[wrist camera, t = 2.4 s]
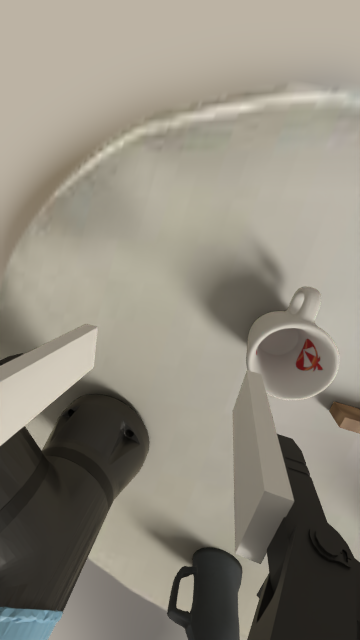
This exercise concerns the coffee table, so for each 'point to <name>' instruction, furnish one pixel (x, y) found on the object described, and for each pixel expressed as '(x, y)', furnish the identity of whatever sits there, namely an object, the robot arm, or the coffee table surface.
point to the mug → (210, 596)
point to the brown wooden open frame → (346, 416)
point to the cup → (293, 349)
